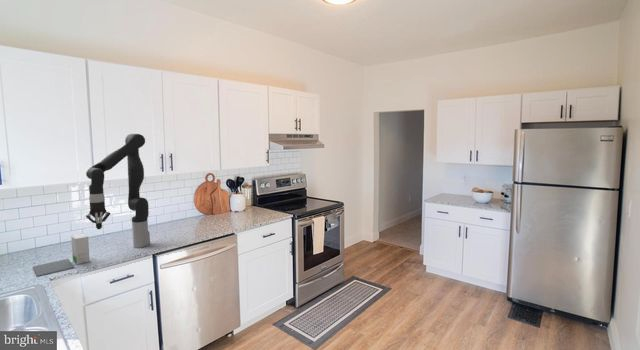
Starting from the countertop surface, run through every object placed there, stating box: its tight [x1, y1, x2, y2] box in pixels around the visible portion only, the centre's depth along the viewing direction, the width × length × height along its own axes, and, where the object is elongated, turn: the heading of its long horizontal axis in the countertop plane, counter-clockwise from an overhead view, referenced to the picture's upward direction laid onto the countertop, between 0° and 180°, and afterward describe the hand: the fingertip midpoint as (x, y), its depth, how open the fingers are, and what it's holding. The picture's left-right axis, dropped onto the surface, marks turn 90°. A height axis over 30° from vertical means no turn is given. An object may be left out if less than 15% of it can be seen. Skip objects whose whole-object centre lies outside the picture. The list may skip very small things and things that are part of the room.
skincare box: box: [70, 233, 91, 265], centre depth 191 cm, size 8×7×16 cm
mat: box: [32, 258, 75, 278], centre depth 183 cm, size 16×18×1 cm
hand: (99, 228), depth 197 cm, fingers closed
